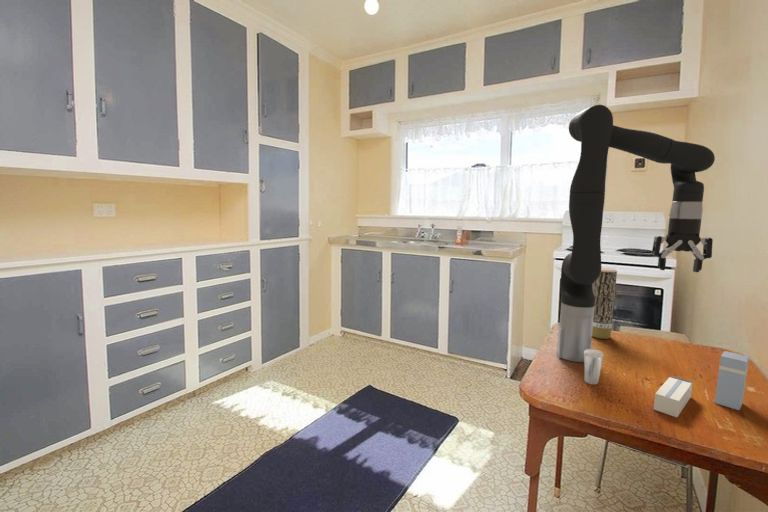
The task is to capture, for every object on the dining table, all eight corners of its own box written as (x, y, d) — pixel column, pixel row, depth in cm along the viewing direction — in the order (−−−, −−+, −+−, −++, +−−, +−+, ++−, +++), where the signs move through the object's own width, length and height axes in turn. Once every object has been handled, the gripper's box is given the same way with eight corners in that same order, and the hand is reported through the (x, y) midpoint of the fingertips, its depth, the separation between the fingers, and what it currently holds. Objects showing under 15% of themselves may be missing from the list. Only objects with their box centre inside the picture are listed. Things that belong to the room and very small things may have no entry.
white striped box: (669, 389, 98) (671, 374, 98) (691, 396, 95) (693, 380, 95) (653, 409, 89) (655, 392, 88) (677, 417, 86) (679, 400, 85)
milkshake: (598, 378, 105) (601, 343, 103) (602, 387, 100) (605, 350, 98) (579, 375, 106) (582, 341, 105) (583, 384, 101) (585, 348, 100)
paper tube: (585, 333, 141) (590, 267, 138) (602, 333, 142) (608, 267, 138) (597, 340, 135) (603, 270, 131) (615, 339, 135) (621, 270, 132)
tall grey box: (717, 396, 95) (724, 350, 94) (742, 403, 92) (749, 356, 90) (714, 402, 92) (720, 356, 90) (739, 410, 89) (746, 362, 87)
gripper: (661, 217, 111) (655, 271, 113) (721, 218, 106) (713, 274, 108) (652, 216, 118) (647, 267, 120) (708, 217, 113) (701, 270, 115)
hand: (678, 271), depth 114 cm, fingers open, 8 cm apart
